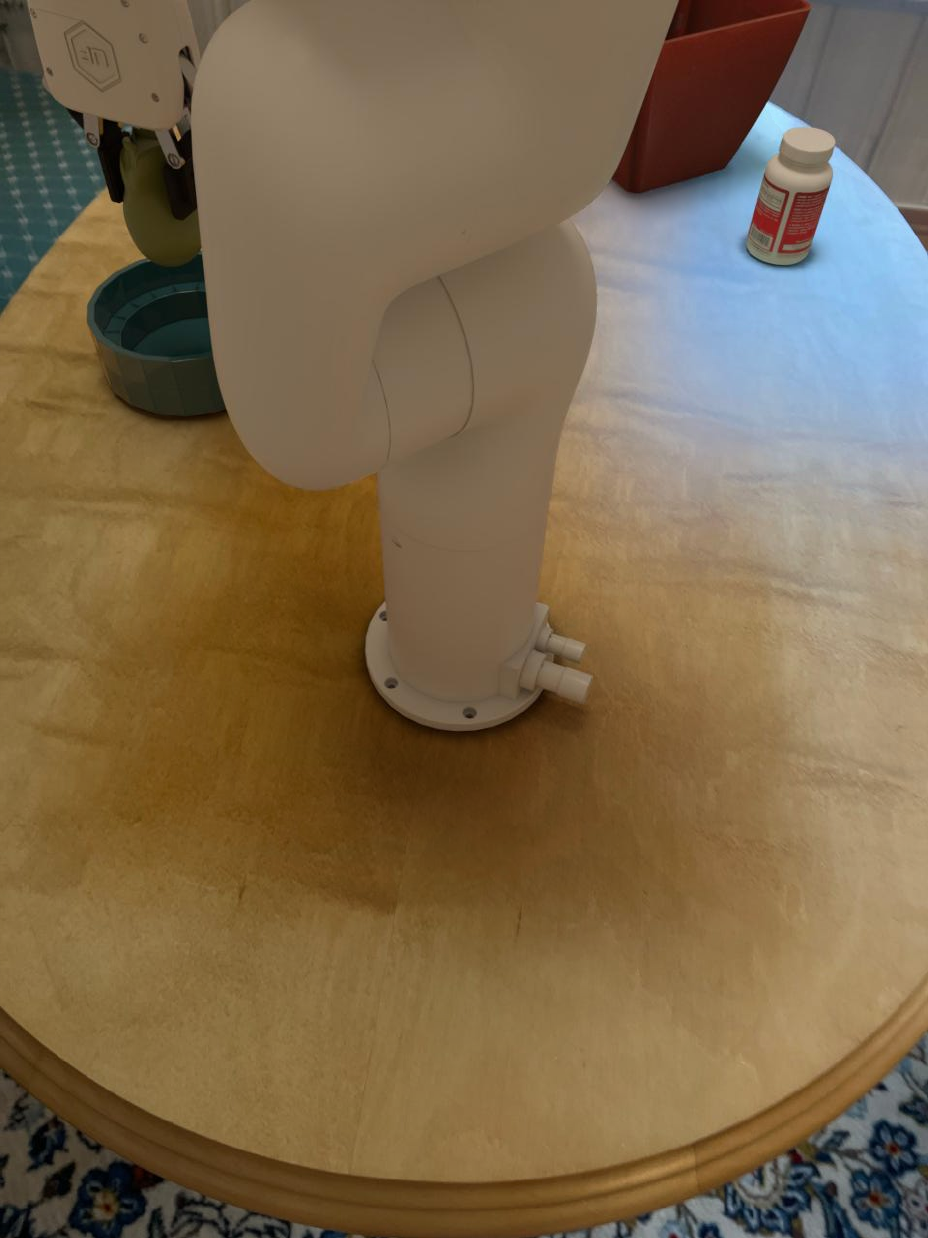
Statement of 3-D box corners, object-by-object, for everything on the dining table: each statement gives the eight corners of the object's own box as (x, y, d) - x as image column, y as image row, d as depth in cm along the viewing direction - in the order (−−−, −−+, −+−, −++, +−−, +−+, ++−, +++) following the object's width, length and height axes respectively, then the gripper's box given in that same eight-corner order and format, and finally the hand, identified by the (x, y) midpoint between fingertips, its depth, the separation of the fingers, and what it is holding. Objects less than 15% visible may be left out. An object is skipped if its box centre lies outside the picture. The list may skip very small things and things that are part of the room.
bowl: (317, 336, 86) (310, 276, 82) (226, 442, 78) (212, 381, 73) (172, 293, 90) (157, 234, 85) (69, 390, 81) (46, 329, 77)
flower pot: (621, 220, 99) (649, 42, 86) (528, 137, 109) (540, -34, 96) (770, 178, 105) (818, 5, 91) (668, 103, 115) (698, -63, 102)
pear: (185, 232, 78) (153, 105, 70) (225, 259, 76) (197, 131, 68) (126, 260, 76) (86, 133, 68) (165, 289, 74) (129, 160, 66)
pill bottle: (813, 241, 97) (850, 130, 89) (800, 273, 94) (838, 160, 85) (752, 227, 99) (782, 116, 90) (737, 257, 95) (768, 145, 87)
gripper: (-69, -92, 58) (32, 200, 72) (173, -42, 54) (229, 255, 68) (14, -128, 62) (94, 154, 76) (244, -85, 58) (283, 204, 73)
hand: (157, 199), depth 72 cm, fingers closed on pear, 4 cm apart
